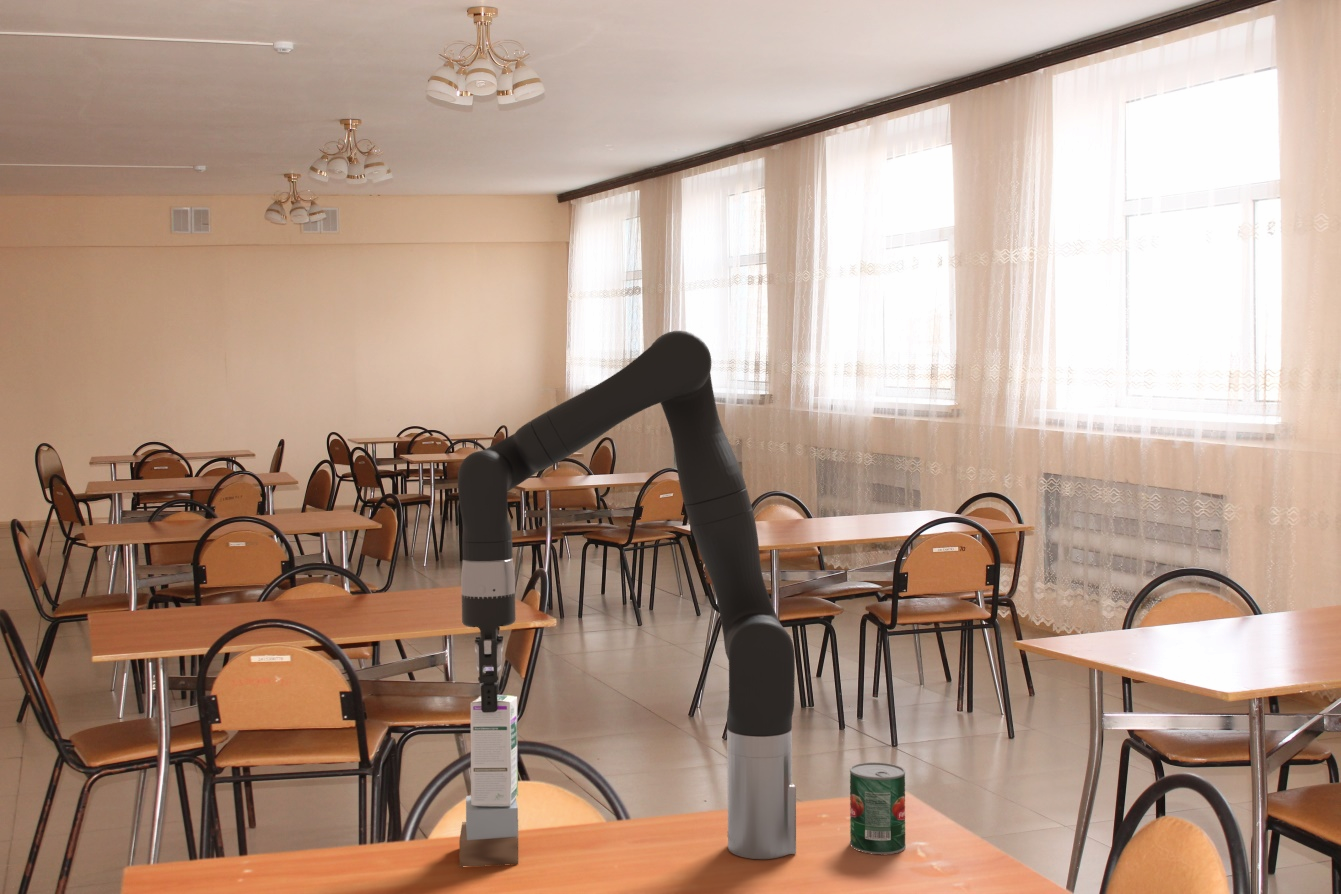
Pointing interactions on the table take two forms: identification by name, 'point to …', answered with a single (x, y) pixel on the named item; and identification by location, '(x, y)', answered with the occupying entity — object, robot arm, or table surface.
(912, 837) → the table surface
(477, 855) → the tower base
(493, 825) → the tower top
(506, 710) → the syrup box
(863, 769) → the canned tomato
